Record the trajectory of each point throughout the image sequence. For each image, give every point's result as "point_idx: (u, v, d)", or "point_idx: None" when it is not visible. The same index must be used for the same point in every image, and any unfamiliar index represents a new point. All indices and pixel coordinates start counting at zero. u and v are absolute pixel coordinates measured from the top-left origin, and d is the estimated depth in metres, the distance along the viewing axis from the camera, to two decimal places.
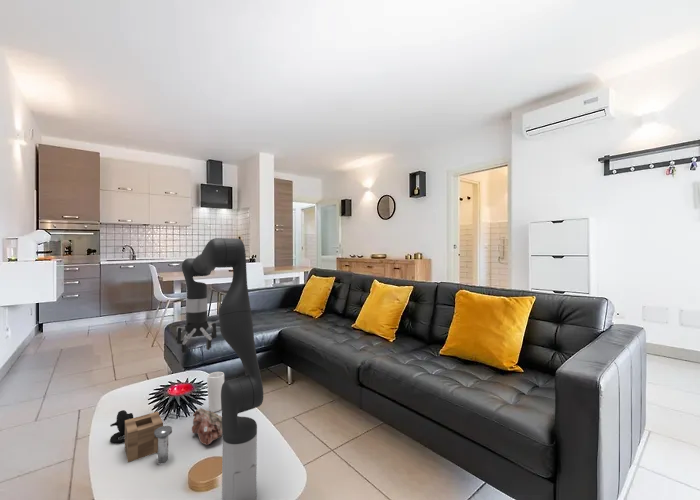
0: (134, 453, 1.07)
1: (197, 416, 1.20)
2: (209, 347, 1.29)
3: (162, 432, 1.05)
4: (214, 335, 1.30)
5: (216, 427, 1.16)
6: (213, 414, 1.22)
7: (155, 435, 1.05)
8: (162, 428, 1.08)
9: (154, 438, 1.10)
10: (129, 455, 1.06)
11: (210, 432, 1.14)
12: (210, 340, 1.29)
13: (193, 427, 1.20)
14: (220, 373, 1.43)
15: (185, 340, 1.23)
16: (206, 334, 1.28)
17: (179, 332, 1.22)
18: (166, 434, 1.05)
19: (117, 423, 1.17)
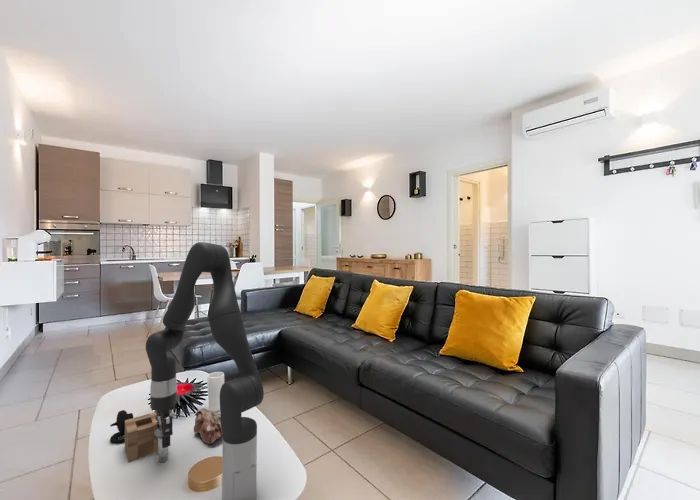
0: (134, 453, 1.07)
1: (199, 416, 1.21)
2: None
3: None
4: None
5: (219, 426, 1.17)
6: (215, 413, 1.22)
7: (155, 435, 1.05)
8: None
9: (154, 438, 1.10)
10: (129, 455, 1.06)
11: (213, 431, 1.15)
12: None
13: (195, 427, 1.20)
14: (220, 373, 1.43)
15: (170, 428, 1.04)
16: None
17: (171, 421, 1.03)
18: None
19: (117, 423, 1.17)
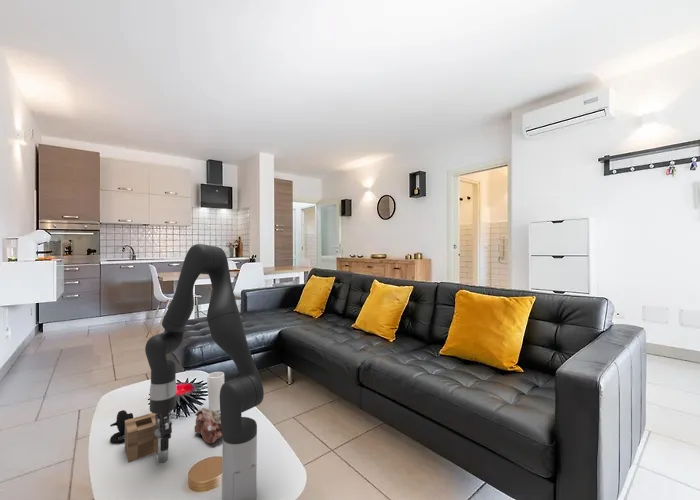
0: (134, 453, 1.07)
1: (200, 415, 1.21)
2: None
3: None
4: None
5: (220, 426, 1.17)
6: (216, 413, 1.22)
7: (155, 435, 1.05)
8: None
9: (154, 438, 1.10)
10: (129, 455, 1.06)
11: (214, 431, 1.15)
12: None
13: (196, 427, 1.21)
14: (220, 373, 1.43)
15: None
16: None
17: (171, 426, 1.03)
18: None
19: (117, 423, 1.17)
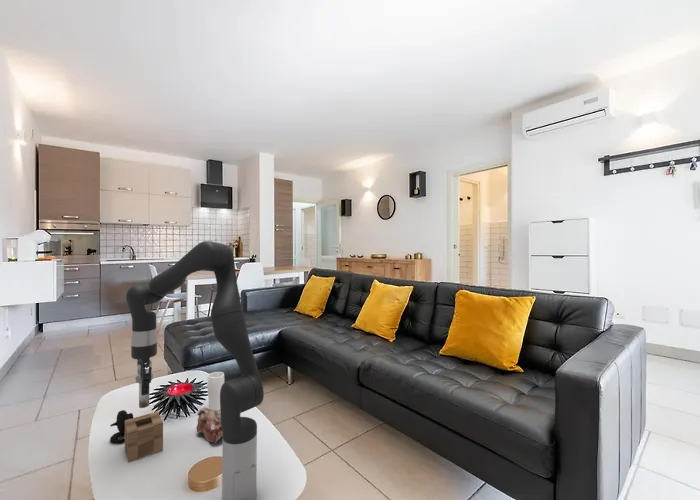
0: (134, 453, 1.07)
1: (202, 415, 1.21)
2: None
3: None
4: None
5: None
6: (218, 412, 1.23)
7: (136, 380, 1.10)
8: None
9: (154, 438, 1.10)
10: (129, 455, 1.06)
11: (218, 430, 1.16)
12: None
13: (198, 426, 1.21)
14: (220, 373, 1.43)
15: None
16: None
17: None
18: None
19: (117, 423, 1.17)
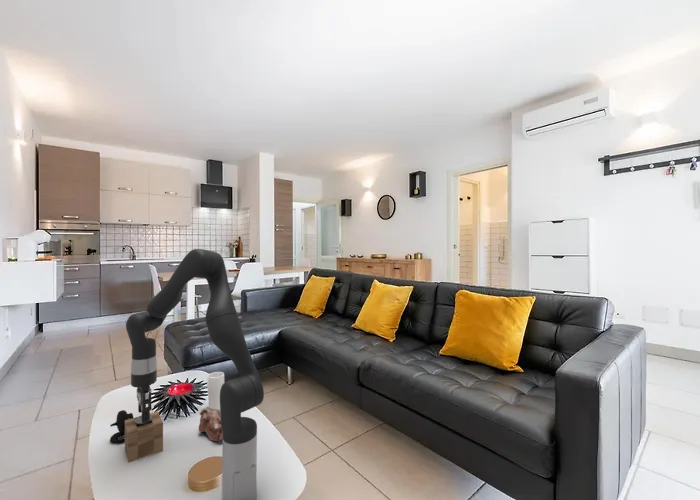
0: (134, 453, 1.07)
1: (204, 414, 1.21)
2: None
3: None
4: None
5: None
6: None
7: (136, 423, 1.11)
8: None
9: (154, 438, 1.10)
10: (129, 455, 1.06)
11: (221, 428, 1.17)
12: None
13: (200, 426, 1.21)
14: (220, 373, 1.43)
15: None
16: None
17: None
18: (146, 422, 1.11)
19: (117, 423, 1.17)
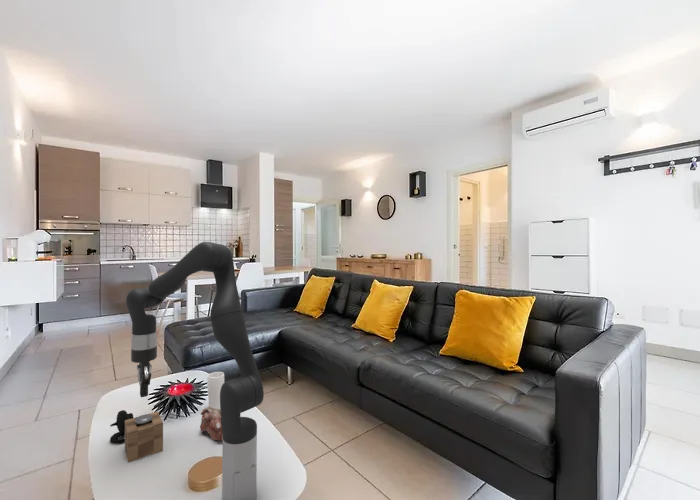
0: (134, 453, 1.07)
1: (206, 414, 1.22)
2: (147, 391, 1.14)
3: (142, 420, 1.11)
4: None
5: None
6: None
7: (136, 423, 1.11)
8: (143, 416, 1.14)
9: (154, 438, 1.10)
10: (129, 455, 1.06)
11: None
12: None
13: (202, 425, 1.22)
14: (220, 373, 1.43)
15: None
16: None
17: None
18: (146, 422, 1.11)
19: (117, 423, 1.17)
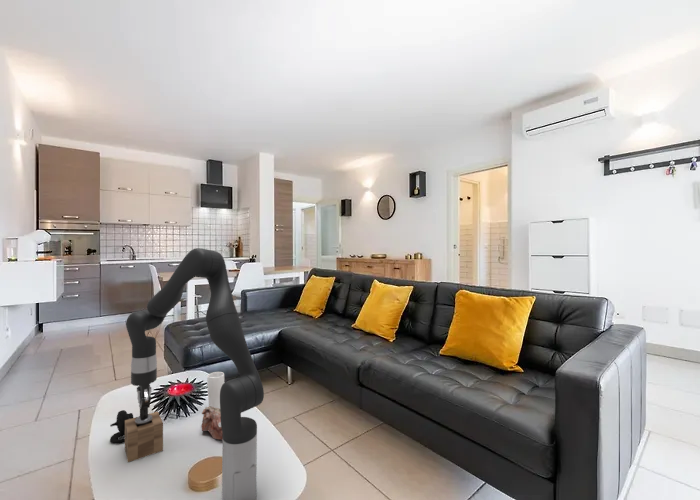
0: (134, 453, 1.07)
1: (207, 414, 1.22)
2: None
3: (142, 420, 1.11)
4: None
5: None
6: None
7: (136, 423, 1.11)
8: None
9: (154, 438, 1.10)
10: (129, 455, 1.06)
11: None
12: None
13: (203, 425, 1.22)
14: (220, 373, 1.43)
15: None
16: None
17: None
18: (146, 422, 1.11)
19: (117, 423, 1.17)
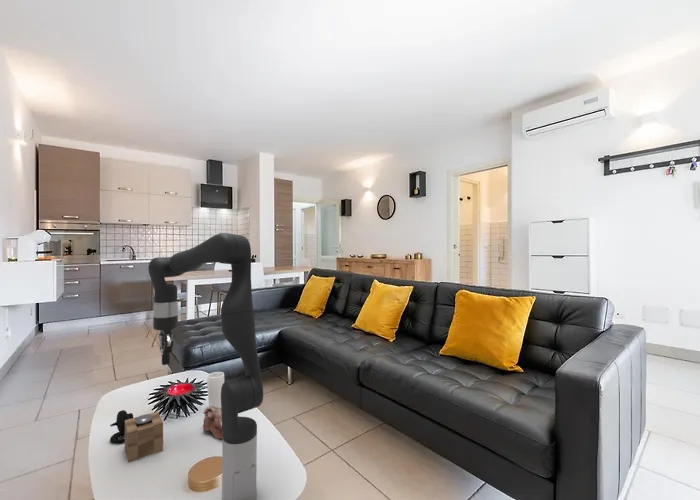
0: (134, 453, 1.07)
1: (209, 413, 1.22)
2: None
3: (142, 420, 1.11)
4: None
5: None
6: None
7: (136, 423, 1.11)
8: (143, 416, 1.14)
9: (154, 438, 1.10)
10: (129, 455, 1.06)
11: None
12: None
13: (205, 424, 1.22)
14: (220, 373, 1.43)
15: None
16: None
17: (172, 344, 1.11)
18: (146, 422, 1.11)
19: (117, 423, 1.17)
